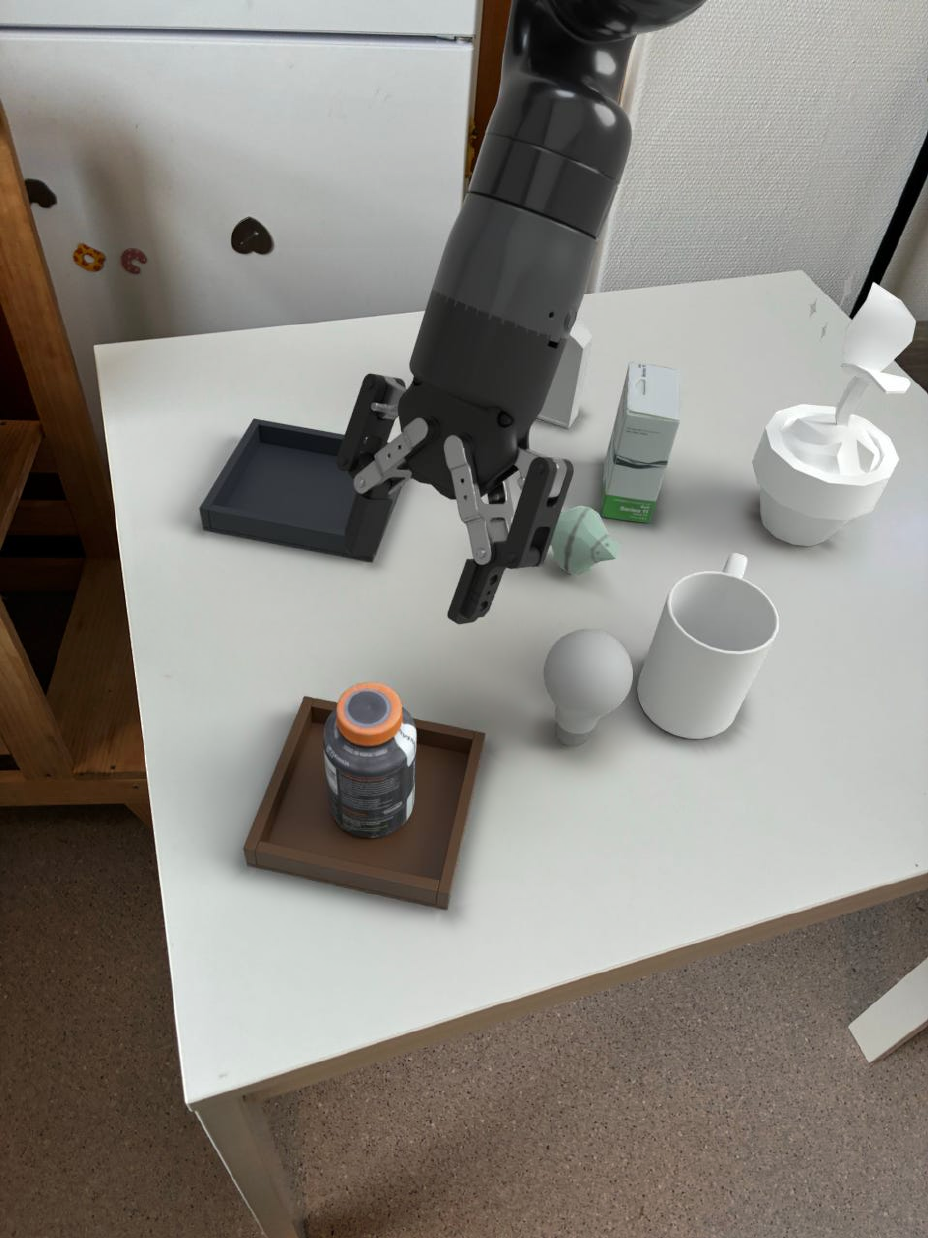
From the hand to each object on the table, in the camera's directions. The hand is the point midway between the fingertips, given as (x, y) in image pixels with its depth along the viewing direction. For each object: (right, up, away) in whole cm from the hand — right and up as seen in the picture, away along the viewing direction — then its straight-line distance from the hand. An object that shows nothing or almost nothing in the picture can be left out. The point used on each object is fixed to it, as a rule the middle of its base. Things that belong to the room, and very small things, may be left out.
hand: (408, 586), depth 52 cm
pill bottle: (-3, -15, +11) cm, 19 cm away
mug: (+22, -7, +20) cm, 30 cm away
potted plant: (+35, +7, +33) cm, 48 cm away
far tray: (-11, +9, +32) cm, 35 cm away
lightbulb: (+11, -11, +16) cm, 22 cm away
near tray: (-3, -15, +11) cm, 19 cm away
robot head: (+13, +2, +28) cm, 31 cm away
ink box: (+19, +10, +35) cm, 41 cm away
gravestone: (+10, +20, +44) cm, 49 cm away
